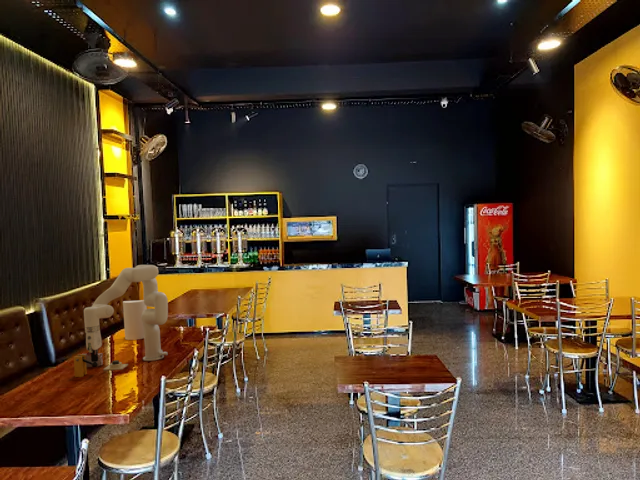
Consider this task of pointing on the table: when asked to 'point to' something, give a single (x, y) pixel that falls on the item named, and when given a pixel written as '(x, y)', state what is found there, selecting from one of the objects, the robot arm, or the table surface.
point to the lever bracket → (80, 365)
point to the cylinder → (133, 319)
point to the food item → (100, 361)
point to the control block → (115, 366)
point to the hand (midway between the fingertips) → (94, 361)
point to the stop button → (115, 362)
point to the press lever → (90, 362)
